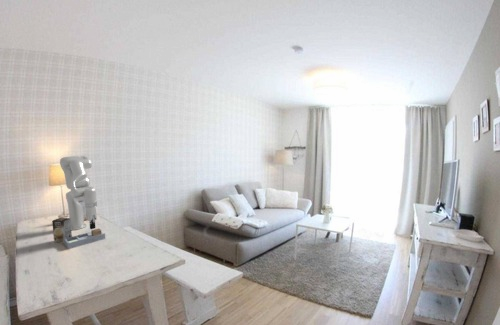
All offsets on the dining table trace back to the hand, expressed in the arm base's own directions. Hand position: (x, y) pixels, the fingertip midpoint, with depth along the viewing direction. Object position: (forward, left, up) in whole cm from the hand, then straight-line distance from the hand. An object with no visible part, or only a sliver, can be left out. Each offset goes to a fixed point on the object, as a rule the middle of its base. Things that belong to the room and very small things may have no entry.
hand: (92, 228), depth 180 cm
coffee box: (-8, -17, -6) cm, 19 cm away
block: (+9, 0, -3) cm, 9 cm away
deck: (+6, -7, -6) cm, 11 cm away
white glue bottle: (-54, +9, -6) cm, 55 cm away
